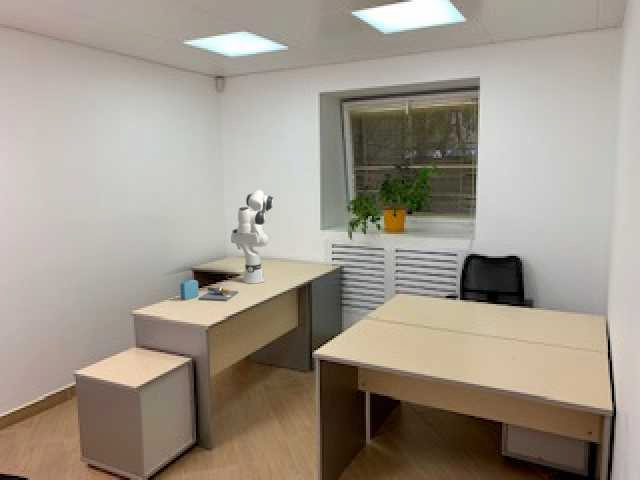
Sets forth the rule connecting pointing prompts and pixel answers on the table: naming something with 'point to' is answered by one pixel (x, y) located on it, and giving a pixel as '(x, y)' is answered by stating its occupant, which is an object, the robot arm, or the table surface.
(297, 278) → the table surface
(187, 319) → the table surface
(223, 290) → the bar with grey ball
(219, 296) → the stand
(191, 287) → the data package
